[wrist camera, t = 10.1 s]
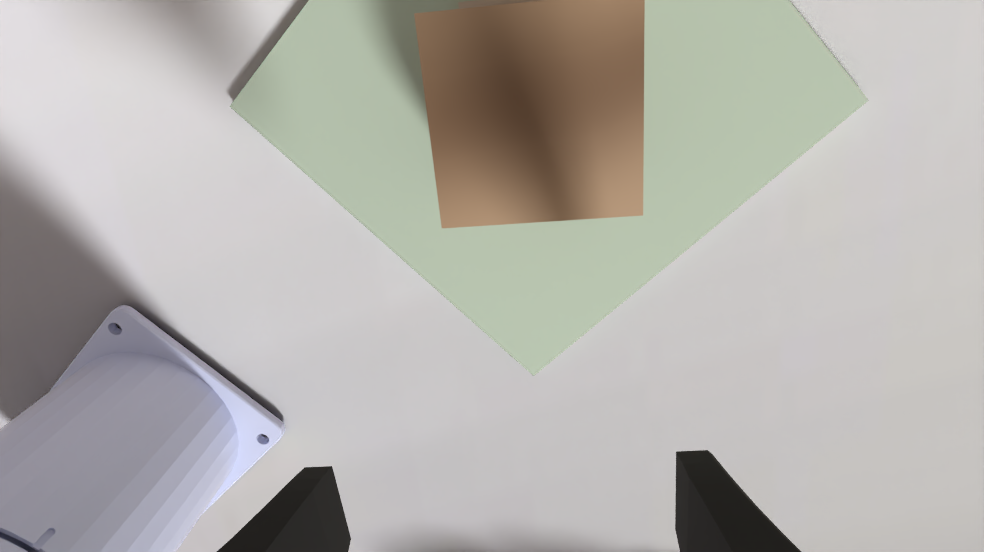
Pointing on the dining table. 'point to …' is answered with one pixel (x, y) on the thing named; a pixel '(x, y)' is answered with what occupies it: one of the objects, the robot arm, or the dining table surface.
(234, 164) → the dining table surface
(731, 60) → the mat
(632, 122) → the letter cube
